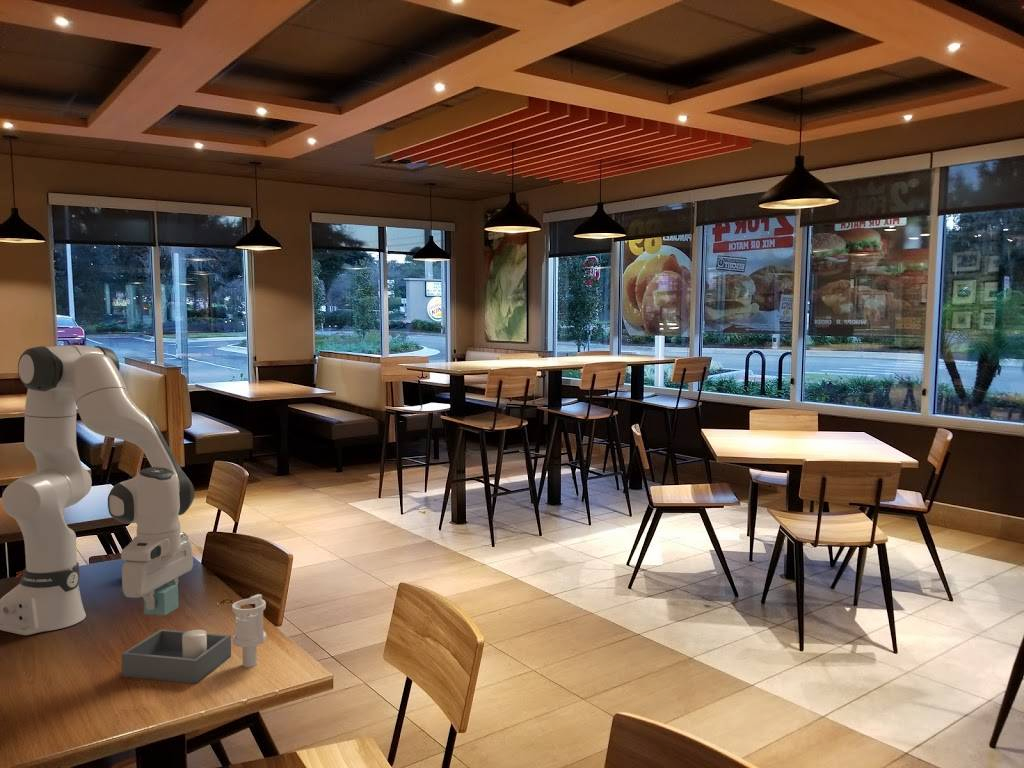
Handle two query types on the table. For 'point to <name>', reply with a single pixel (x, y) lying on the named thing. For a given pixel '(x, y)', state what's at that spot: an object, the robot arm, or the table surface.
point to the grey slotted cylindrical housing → (249, 628)
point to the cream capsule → (194, 643)
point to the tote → (174, 658)
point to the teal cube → (164, 600)
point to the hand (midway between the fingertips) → (161, 603)
